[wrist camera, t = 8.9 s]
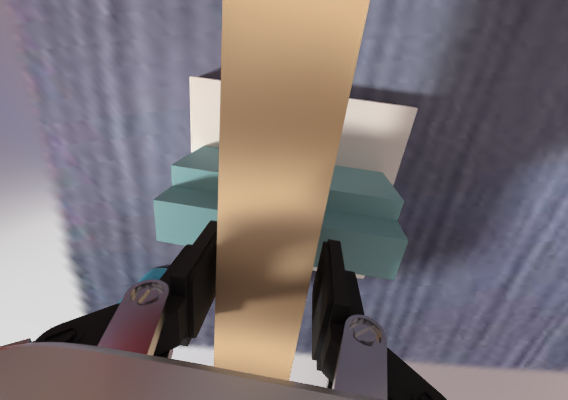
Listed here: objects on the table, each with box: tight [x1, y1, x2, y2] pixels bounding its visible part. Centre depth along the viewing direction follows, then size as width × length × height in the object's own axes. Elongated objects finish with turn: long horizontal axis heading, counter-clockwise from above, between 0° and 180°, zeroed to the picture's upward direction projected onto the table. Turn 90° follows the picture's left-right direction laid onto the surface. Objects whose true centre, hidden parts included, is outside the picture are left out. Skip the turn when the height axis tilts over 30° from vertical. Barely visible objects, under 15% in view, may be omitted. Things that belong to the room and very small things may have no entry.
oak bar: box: [214, 0, 370, 381], centre depth 12 cm, size 20×4×4 cm, turn 173°
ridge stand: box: [153, 76, 418, 280], centre depth 18 cm, size 14×15×8 cm
